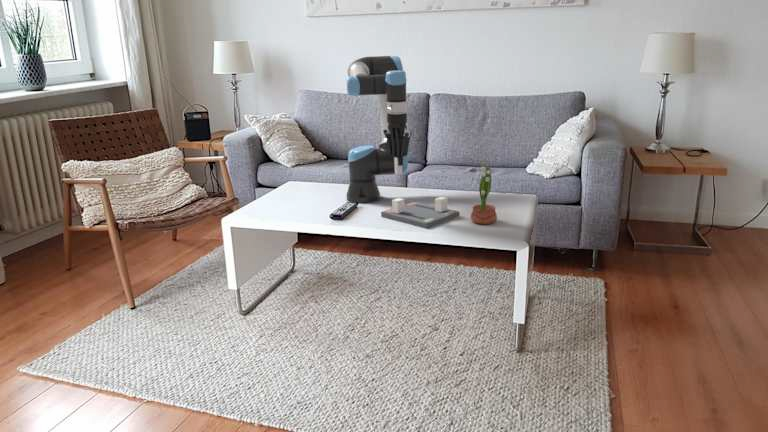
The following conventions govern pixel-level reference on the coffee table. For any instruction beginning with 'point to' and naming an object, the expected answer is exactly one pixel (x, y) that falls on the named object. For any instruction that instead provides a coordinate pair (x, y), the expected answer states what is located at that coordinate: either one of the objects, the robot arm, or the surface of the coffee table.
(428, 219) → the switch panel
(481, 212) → the potted flower
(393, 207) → the switch knob
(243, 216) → the coffee table surface
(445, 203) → the switch knob
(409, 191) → the coffee table surface
